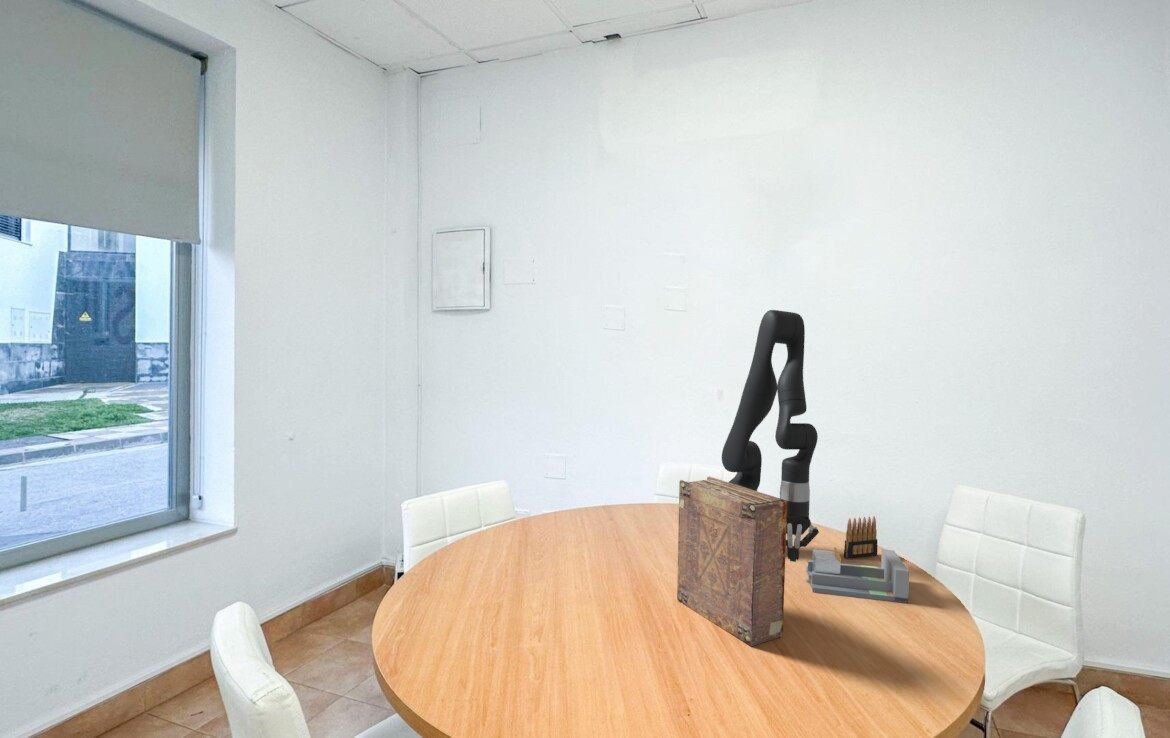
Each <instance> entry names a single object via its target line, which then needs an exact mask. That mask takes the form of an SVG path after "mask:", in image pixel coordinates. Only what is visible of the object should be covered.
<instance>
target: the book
mask: <svg viewBox="0 0 1170 738" xmlns="http://www.w3.org/2000/svg"><path fill="white" fill-rule="evenodd" d="M678 490H679V492H678V494H679V495H678V496H679V497H678V532H677V533H678V534H677V535H678V537H677V538H678V540H677V542H678V543H677V544H678V545H677V546H678V547H677V586H676V587H677V588H676V589H677V594H676V595H677V596H676V599H677V601H678V602H679V603H681V604H682V605H683V606H686V608H689V609H690V610H691V611H694V613H696V614H698V615H699V616H701V617H703V618H704V619H706V620H707V621H709V622H711V623H712V624H714V625H716V626H718V627H719V628H721V629H722V630H724V631H725V632H727V633H728V634H730V635H732V636H733V637H735V638H736V639H738V640H739V641H741V642H743V643H745V644H746V645H747V646H749V647H755V646H757V645H760V644H763V643H766V642H769V641H772V640H775V639H780V638H781V637H783V635H784V634H783V633H784V608H785V581H786V579H785V575H786V554H787V553H786V552H787V550H786V548H787V546H786V540H787V534H786V524H787V501H786V500H783V499H780V497H776V496H773V495H771V494H767V493H763V492H760V491H758V490H757V491H754V490H751V489H748V488H745V487H742V486H738V485H735V484H732V483H729V481H725V480H722V479H719V478H715V477H712V476H707V478H706V479H703V480H695V481H686V480H684V479H680V480H679V486H678Z"/></svg>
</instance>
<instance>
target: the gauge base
mask: <svg viewBox="0 0 1170 738" xmlns="http://www.w3.org/2000/svg"><path fill="white" fill-rule="evenodd" d="M880 554H881V555H880V556H881V560H880V561H881V564H880V567H879V566H874V565H862V564H860V565H859V564H849V563H841V565H840V575H832V574H822V573H813V572H812V560H809V559H807V565H806V568H805V569H806V575H807V577H808V580H809V584H810V587H811V590H812V593H815V594H816V593H817V594H827V595H833V596H842V597H851V598H858V599H860V598H861V599H868V600H876V601H886V602H895V603H903V604H909V590H910V589H909V588H910V587H909V586H910V585H909V584H910V570H909V569H908V568H907V566H906V565H905V563H904V562H903V561H902V560H901V558H900V556H898V554H897V553H896V551H895V550H893V549H884V548H883V549H881V553H880Z"/></svg>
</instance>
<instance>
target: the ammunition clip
mask: <svg viewBox="0 0 1170 738" xmlns="http://www.w3.org/2000/svg"><path fill="white" fill-rule="evenodd" d="M871 519H872V520H871ZM877 535H878V534H877V520H876V516H874V515H873V517H872V518H871V516H868V518H866V517H865V516H864V517H863V518H862V519H861V517H858V520H857V518H856V517H853V520H851V518H848V520H847V526H846V533H845V540H844V549H843V550H844V551H843V557H844V558H845V559H847V560H853V559H861V558H863V559H864V558H872V557H878V539H877Z"/></svg>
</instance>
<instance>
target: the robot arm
mask: <svg viewBox="0 0 1170 738" xmlns="http://www.w3.org/2000/svg"><path fill="white" fill-rule="evenodd" d="M759 323H760V325H759V327H758V333H757V336H756V337H757V338H756V343H755V347H754V352H753V356H752V360H751V364H750V369H749V371H748V375H747V378H746V380H745V384H744V387H743V390H742V393H741V398H740V402H739V405H738V408H737V411H736V415H735V418H734V421H733V423H732V426H731V428H730V431H729V433H728V435H727V438H726V440H725V443H724V445H723V448H722V450H721V451H722V452H721V462H722V463H721V464H722V466H723V468H724V469H725V470H726V471H728V472H730V473H736V474H735V476H734V477H733V478H732V479H730V480H729V481H728V482H729V483H732V484H735V485H738V486H742V487H745V488H748V489H751V490H754V491H758V489H759V487H760V484H761V476H762V465H763V464H762V451H761V448H760V446H759V445H758V444H757V443H756V442H755V441H752V440H750V439H751V437H752V435H753V434H754V432H755V430H756V429H757V428H758V427H759V425H760V424H762V422H763V421H764V420H765V419H766V417H767V416H768V415H769V413H770V411H771V410H772V407H773V405H774V402H775V399H776V396H777V400H778V419H777V424H776V429H775V434H774V435H775V441H776V444H777V446H778V447H779V448H780V449H782V450H793V451H794V450H796V451H797V450H798V452H797V454H796V455H793V456H790V457H789V456H788V457H786V458H784V459H782V462H781V481H780V486H779V498H780V499H783V500H786V501H787V524H786V548H787V550H786V552H787V553H786V555H787V559H788V560H789V561H790V562H791V563H792V562H794V563H797V561H799V557H800V552H799V551H800V548H806V547H807V546H808V545H809V544H810V543H811V541H813V540H814V539H815V538H816V536H817V535H818V534H819V533H820V532H819V529H818V528H817V526H814V525H813V524H812V522H811V519H810V498H811V497H810V496H811V493H810V492H811V489H810V467H811V463H812V458H813V456H814V453H815V450H816V447H817V443H818V438H819V437H818V436H819V435H818V432H817V428H816V427H815V426H814V425H813V424H811V423H807V422H805V423H804V422H803V423H801V422H800V423H798V422H797V423H794V422H792V423H791V419H792V418H793V417H798V416H802V415H804V414H805V413H806V412H807V400H806V399H807V398H806V392H805V384H804V383H805V382H804V359H805V337H806V336H805V333H806V331H805V330H806V329H805V322H804V319H803V316H801V315H800V314H799V313H797V312H792V311H784V310H776V309H770V310H767V311H766V312H765V313H764V314H763V316H762V319H761V321H760V322H759ZM776 344H780V345H781V344H782V345H785V346H786V349H787V350H786V352H787V358H786V362H785V364H784V366H783V369H782V371H781V372H780V376H779V377H778V381H777V378H776V375H775V372H774V368H773V363H772V357H773V353H774V352H773V351H774V347H775V345H776ZM807 530H808V533H807V534H806V535H805V536H804V537H803V538H802V536H803V535H804V534H805V533H806V532H807ZM793 536H794V538H793ZM793 539H794V540H793ZM793 541H794V542H793Z"/></svg>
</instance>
